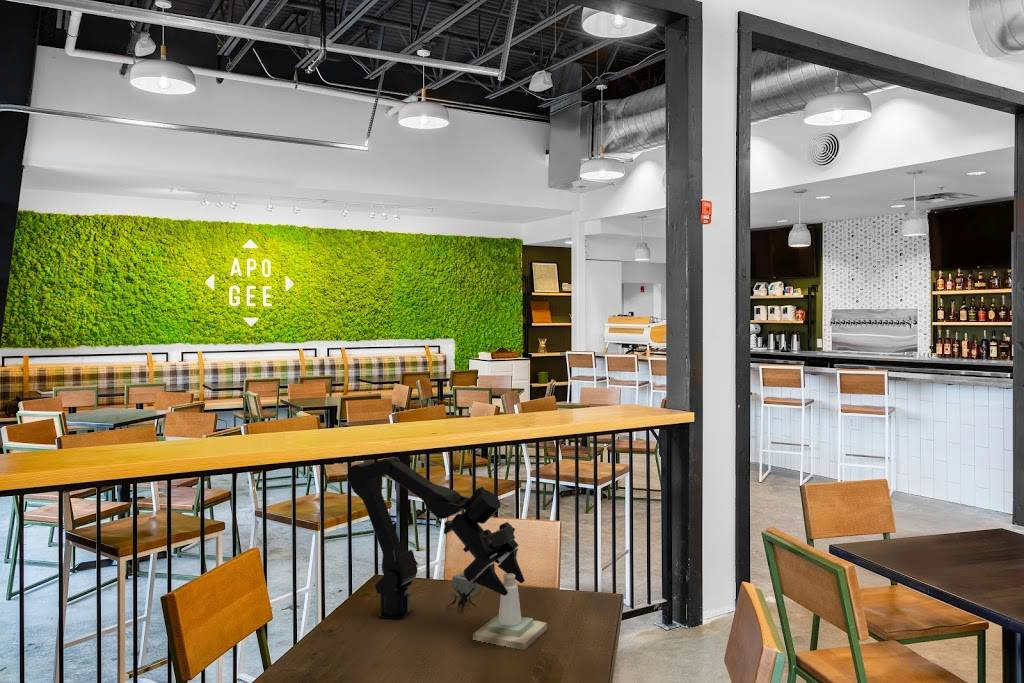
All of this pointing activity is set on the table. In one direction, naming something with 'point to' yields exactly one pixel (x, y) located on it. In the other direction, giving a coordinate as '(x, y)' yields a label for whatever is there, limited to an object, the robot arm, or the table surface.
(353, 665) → the table surface
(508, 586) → the salt shaker
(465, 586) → the dice cube
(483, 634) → the plinth
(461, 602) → the creature
